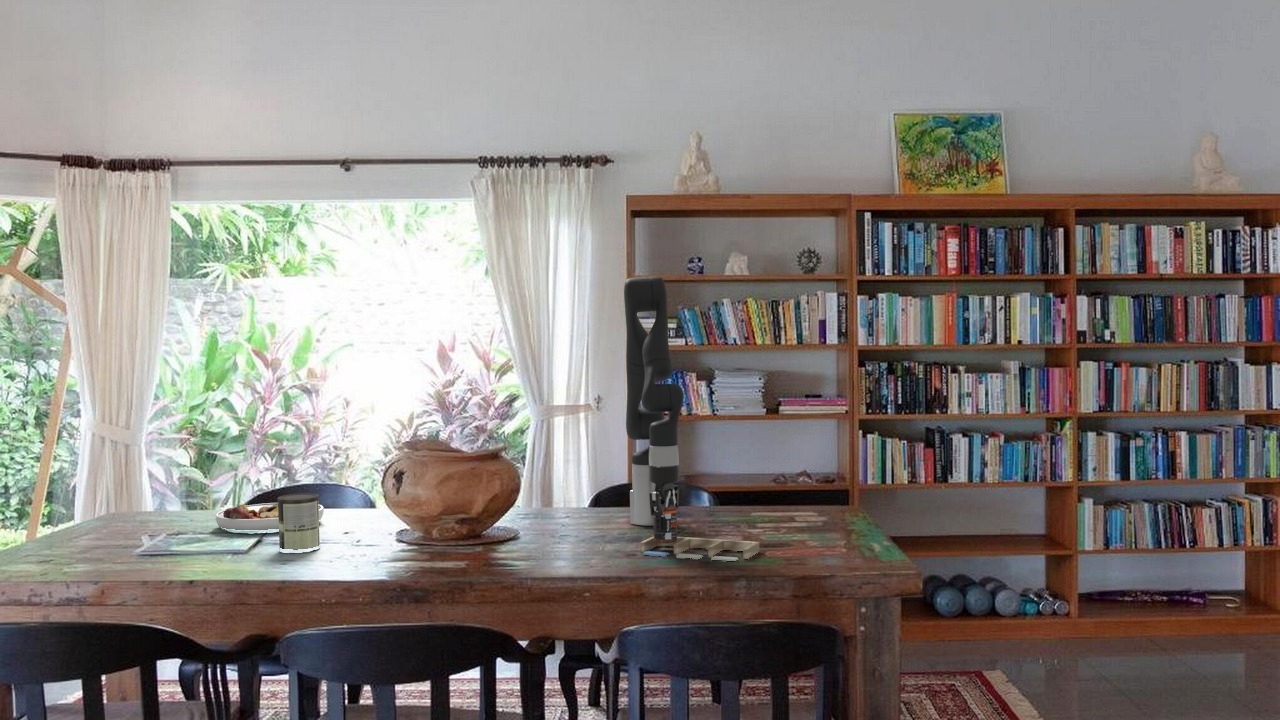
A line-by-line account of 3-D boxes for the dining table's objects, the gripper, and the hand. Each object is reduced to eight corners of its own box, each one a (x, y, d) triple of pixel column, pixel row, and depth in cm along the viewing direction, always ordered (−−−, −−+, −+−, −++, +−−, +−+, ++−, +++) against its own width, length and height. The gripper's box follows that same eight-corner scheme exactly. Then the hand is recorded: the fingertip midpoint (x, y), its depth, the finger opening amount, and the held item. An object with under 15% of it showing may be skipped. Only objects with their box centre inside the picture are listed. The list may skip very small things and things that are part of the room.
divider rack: (640, 552, 271) (640, 542, 271) (655, 545, 280) (655, 535, 280) (747, 559, 259) (747, 549, 259) (759, 552, 268) (759, 542, 268)
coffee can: (270, 552, 281) (268, 497, 281) (301, 544, 290) (299, 492, 289) (298, 555, 276) (296, 500, 275) (328, 548, 285) (327, 494, 284)
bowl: (270, 515, 339) (269, 490, 339) (345, 521, 326) (344, 495, 326) (193, 533, 312) (192, 505, 312) (271, 540, 299) (270, 511, 299)
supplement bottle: (675, 544, 269) (674, 499, 269) (651, 543, 271) (650, 498, 270) (679, 539, 275) (678, 495, 275) (656, 539, 276) (655, 495, 276)
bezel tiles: (642, 555, 267) (642, 552, 267) (646, 553, 269) (646, 551, 269) (734, 562, 257) (734, 559, 257) (738, 560, 260) (738, 557, 260)
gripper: (661, 459, 280) (662, 524, 281) (638, 466, 267) (639, 534, 268) (688, 460, 277) (689, 525, 278) (666, 467, 264) (668, 535, 265)
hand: (665, 529), depth 273 cm, fingers closed on supplement bottle, 6 cm apart
